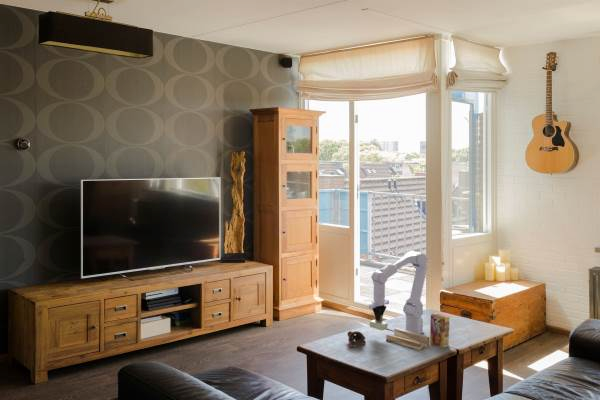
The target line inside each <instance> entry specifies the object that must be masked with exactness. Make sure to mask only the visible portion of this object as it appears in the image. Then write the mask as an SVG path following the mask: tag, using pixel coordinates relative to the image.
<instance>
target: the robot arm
mask: <svg viewBox="0 0 600 400" xmlns="http://www.w3.org/2000/svg"><path fill="white" fill-rule="evenodd" d="M428 258H429V257H427V255H426V254H425V253H423V252H418V251H414V250H409V251H408V252H406V253H405V255H403V256H402V257H401V258H399V259H398V260H397V261H396V262H394V263H387V264H386V266H384V267H382V268H379V270H375V271H374V272H373V273H372V275H371V276H370V277H371V280H372V284H373V301H372V302H371V303H370V304H368V309H369V310H372V312H373V314H374V318H375V319H376V320H377V321H380V315H382V318H384V314H385V311H386V309H387V306H386V305H389V304H390V300H388V299H385V297H386V295H385V293H386V290H385V289H386V283H387V281H388V279H389V278H391V277H392V276H393V275H395V274H397V272H398V270H399V269H401V268H403V267H404V266H406V265H408V264H411V265H412V266H413V267H414V268H415V273H414V277H413V280H412V281H413V282H412V287H411V292H410V296H409V298H408V299H407V300H406V301H405V304H404V305H403V308H402V309H403V313H404V314H405V330H406V331H410V332H413V333H417V334H421V335H423V334H425V331H424V320H423V317H422V316H423V314H424V309H423V306H424V304H423V303H422V301H421V298H422V295H423V294H422V293H423V288H424V284H425V280H426V275H427V271H428V265H427V263H428V260H429V259H428ZM375 319H374V320H375Z"/></svg>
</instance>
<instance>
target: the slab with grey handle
mask: <svg viewBox="0 0 600 400" xmlns="http://www.w3.org/2000/svg"><path fill="white" fill-rule="evenodd" d="M388 324H389V323H388V322H385V321H383V317H382V315H380V321H377V320H376V319H372V320H370V321H369V327H370V328H372V329H375V330H379V331H385V330H388Z"/></svg>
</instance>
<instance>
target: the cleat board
mask: <svg viewBox="0 0 600 400" xmlns="http://www.w3.org/2000/svg"><path fill="white" fill-rule="evenodd" d="M393 332H394V333H393V334H389V333H387V334H385V336H386V337H385V339H386V340H385V341H387V340H388V341H387V342H390V341H391V343H394V344H398V345H402V346H404V347H409V348H412V349H415V350H418V351H419V350H422V349H424V348H426V347H427V348H428V347H429V346H430V336H428V335H424V334H417V333H413V332H410V331H406V329H402V328H397V327H396V328H394V329H393Z"/></svg>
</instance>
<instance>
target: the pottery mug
mask: <svg viewBox="0 0 600 400" xmlns="http://www.w3.org/2000/svg"><path fill="white" fill-rule="evenodd" d="M347 337H348V347H349V348H352V347H358V346H361V345H362V344H364V345H366V344H367V343H366V336H365V335H364V334H363V333H362V332H361V331H358V330H357V331H356V330H355V331H352V330H350V331H348V332H347Z"/></svg>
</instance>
